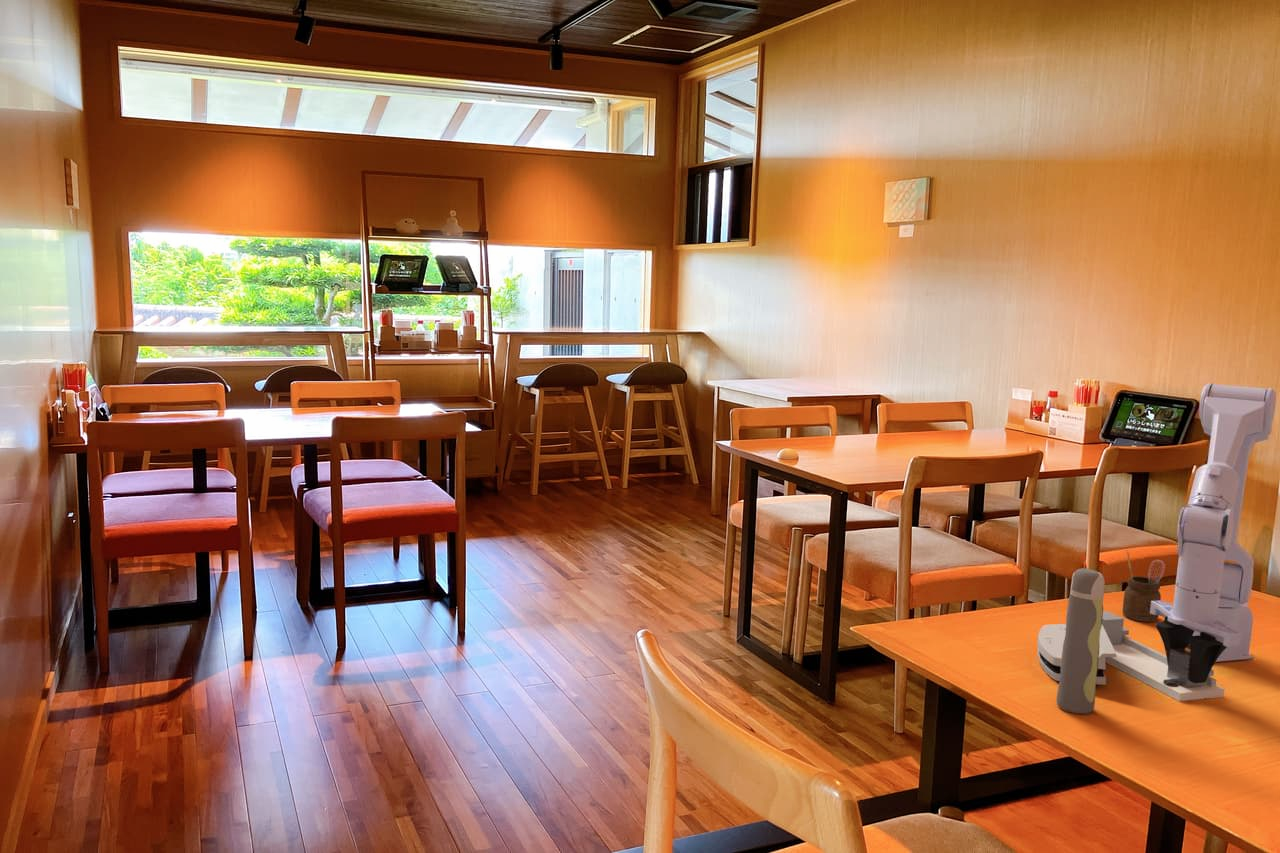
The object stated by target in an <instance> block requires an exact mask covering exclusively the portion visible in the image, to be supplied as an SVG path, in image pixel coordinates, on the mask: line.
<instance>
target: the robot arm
mask: <svg viewBox="0 0 1280 853" xmlns="http://www.w3.org/2000/svg"><path fill="white" fill-rule="evenodd" d="M1276 404H1277V391H1276V390H1274V388H1273V387H1268V388H1264V387H1254V386H1253V387H1251V386H1239V385H1228V384H1215V383H1211V382H1208V383H1206V385H1204V386H1203V387H1202V390H1201V394H1200V399H1199V405H1198V406H1199V407H1198V417H1199V419H1200V424H1201V426H1202V428H1203V433H1204V434H1206V435H1208V436H1210V440H1209V441H1210V442H1209V448H1208V458H1207V463H1206V464H1203V465H1201V466H1200V467H1198V468H1197V470H1196V472H1195V474H1194V478H1193V483H1192V487H1191V491H1190V494H1189V498H1188V502H1187V506H1186V507H1184V506H1183V507H1182V508H1181V510H1180V513H1179V518H1178V522H1177V549H1176V550H1177V551H1176V552H1177V553H1176V554H1177V555H1178V556H1179V557H1178V562H1177V569H1176V570H1177V571H1176V578H1175V585H1174V596H1173V602H1172V603H1169V602H1166V601H1164V600H1161V601H1151V608H1150V613H1151V614H1153V615H1159V616H1160V617H1163V618H1164V619H1163V621H1161V622H1160V621H1159V622H1156V625H1155V627H1156V629H1157V631H1158V633H1159V635H1160V638H1161V641H1162V644H1163V646H1164V650H1165V655H1166V656H1167V662H1168V664H1169V656H1170V649H1174V648H1184V646H1185V645H1190V651H1191V672H1190V677H1191V682H1193V683H1205V682H1206V680H1207V677H1208V675H1209V673H1210V671H1211V669H1212V668H1213V666H1214V665H1215V663H1218V662H1220V663H1221V662H1228V661H1238V660H1239V661H1240V660H1251V659H1253V658H1254V654H1253V655H1252V654H1250V647H1251V640H1252V632H1253V625H1254V624H1253V623H1254V617H1253V612H1252V610H1251V608H1250V607H1249V605H1248V604H1247V603H1249V601H1250V599H1251V593H1252V588H1253V582H1254V565H1255V561H1254V559H1253V556H1252V554H1251V553H1250V552H1248V550H1246V549H1244V547H1243V546H1241V545H1240V544H1239V543H1238V536H1239V529H1240V523H1241V517H1242V516H1241V515H1242V510H1243V502H1244V501H1243V500H1244V495H1245V494H1244V493H1245V488H1246V483H1247V482H1246V481H1247V476H1248V475H1247V474H1248V469H1249V461H1250V460H1249V459H1250V455H1251V453H1252V450H1253V448H1254V446H1255V445H1256V443H1261V442H1264V441H1267V440H1269V435H1271V434H1272V428H1273V423H1274V422H1273V421H1274V417H1275V413H1276V412H1275V410H1276ZM1225 561H1231V562H1233V563H1231V562H1225ZM1234 562H1235V563H1234ZM1212 670H1213V669H1212Z"/></svg>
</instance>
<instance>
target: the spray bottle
mask: <svg viewBox="0 0 1280 853" xmlns="http://www.w3.org/2000/svg"><path fill="white" fill-rule="evenodd" d="M1105 582H1106V581H1105V577H1104V576H1103V574H1102V573H1101V572H1098V571H1097V570H1094V569H1090V568H1083V567H1082V568H1078V569H1076V570H1075V571H1074V572H1073V573H1072V577H1071V585H1070V590H1069V591H1070V593H1069V597H1068V601H1067V602H1068V603H1067V610H1066V616H1065V617H1066V619H1065V622H1066V623H1065V624H1066V633H1065V639H1064V643H1063V650H1062V658H1061V672H1060V681H1058V682H1059V683H1058V686H1057V695H1056V704H1057V707H1059V708H1060V709H1062V710H1063V711H1065V712H1067V713H1068V712H1069V713H1072V714H1074V715H1075V714H1077V715H1088V714H1091V713H1092V712H1094V709H1095V701H1096V685H1097V684H1096V676H1097V671H1098V661H1099V648H1100V646H1099V639H1100V630H1101V626H1102V617H1103V612H1104V603H1103V602H1104V595H1105V584H1106V583H1105Z"/></svg>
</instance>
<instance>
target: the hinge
mask: <svg viewBox="0 0 1280 853" xmlns="http://www.w3.org/2000/svg"><path fill="white" fill-rule="evenodd" d="M1065 633H1066V623H1058V624H1055V623H1054V624H1044V625H1043V626H1042V627H1041V628H1040V630H1039V631H1038V636H1037V642H1036V644H1037V658H1038V660H1039V663H1040V666H1041V668H1042V670H1044V671H1043V672H1045V673H1046V674H1047V675H1048V676H1049V677H1050V678H1051V679H1053V680H1054V681H1056V682H1060V672H1061V658H1062V650H1063V643H1064V639H1065ZM1099 646H1100V648H1099V661H1098V671H1097V676H1096V685H1103V686H1104V685H1105V686H1106V685H1107V677H1106V675H1105V671H1104V670H1107V669H1106V666H1107V665H1106V662H1105V657H1116V652H1115V650H1114V648H1113V646H1112V644H1111V642H1110V640H1109V638H1108V635H1107V633H1106V631H1105V629H1104V627H1103V625H1102V626H1101V630H1100V639H1099Z"/></svg>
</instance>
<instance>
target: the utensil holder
mask: <svg viewBox="0 0 1280 853" xmlns="http://www.w3.org/2000/svg"><path fill="white" fill-rule="evenodd" d="M1126 555H1127V560H1128V562H1127V563H1128V568H1129V572H1130V577H1128V579H1127V587H1126V588H1125V590H1124V594H1123V602H1122V614H1123V617H1125V618H1127V619H1129V620H1131V621H1136V622H1140V623H1141V622H1142V623H1154V622H1156V621H1158V619H1159V616H1160V615H1153V614H1151V613H1150V608H1151V601H1161V599H1162V598H1161V597H1162V595H1161V593H1160V591H1159V590H1160V589H1161V583H1160V579H1161V578H1162V577H1163V575H1164V570H1165V569H1166V567H1165V565H1166V564H1165V563H1164V562H1163V561H1162V560H1159V559H1158V560H1157V559H1155V560H1153V561H1152V562H1151V564H1150V566H1149V568H1148V572H1147V574H1148V577H1147V576H1142V575H1140V576H1139V575H1133V569H1132V563H1131V558H1130V554H1129V550H1128V549H1126ZM1154 562H1156V563H1157V564H1156V563H1154ZM1160 563H1161V564H1160ZM1155 564H1156V566H1155ZM1158 564H1159V566H1158V569H1157V572H1156V571H1154V573H1153V572H1152V571H1153V570H1152V569H1151V568H1154V566H1155V568H1157V565H1158ZM1160 565H1161V566H1162V567H1160ZM1152 566H1153V567H1152ZM1159 568H1160V571H1159ZM1158 571H1159V573H1160V575H1159V578H1157V575H1158ZM1161 571H1162V572H1161ZM1155 572H1156V574H1155ZM1151 573H1153V576H1151V575H1152V574H1151ZM1154 575H1155V577H1154ZM1153 577H1154V578H1153Z"/></svg>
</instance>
